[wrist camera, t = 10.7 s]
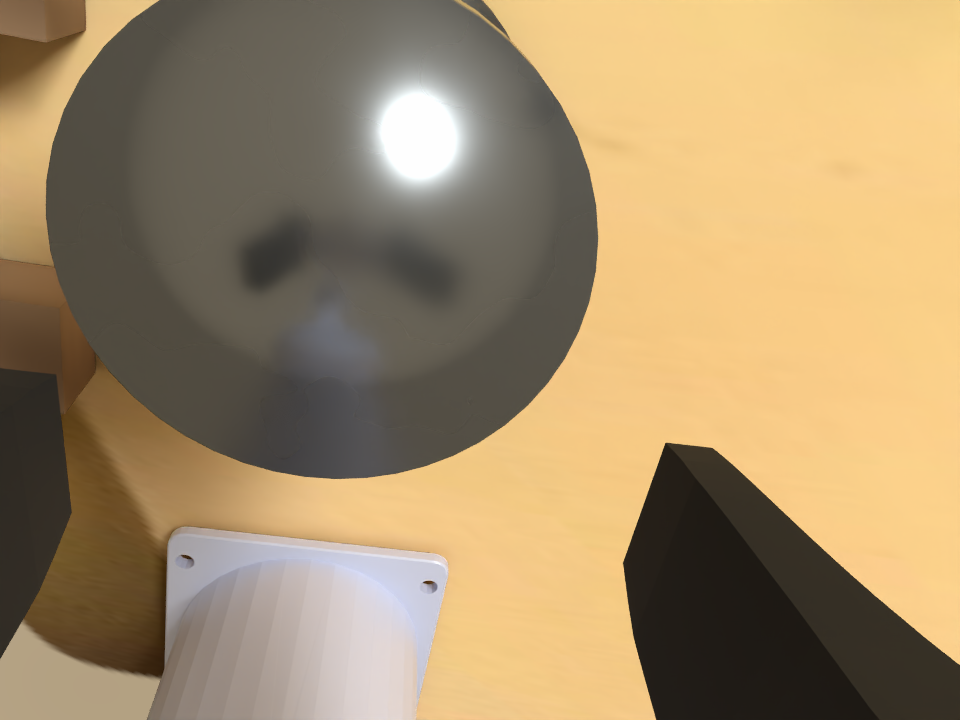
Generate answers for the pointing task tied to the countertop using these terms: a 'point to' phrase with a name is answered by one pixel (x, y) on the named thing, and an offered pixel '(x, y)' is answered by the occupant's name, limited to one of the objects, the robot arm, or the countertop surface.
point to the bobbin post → (322, 227)
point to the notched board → (35, 288)
